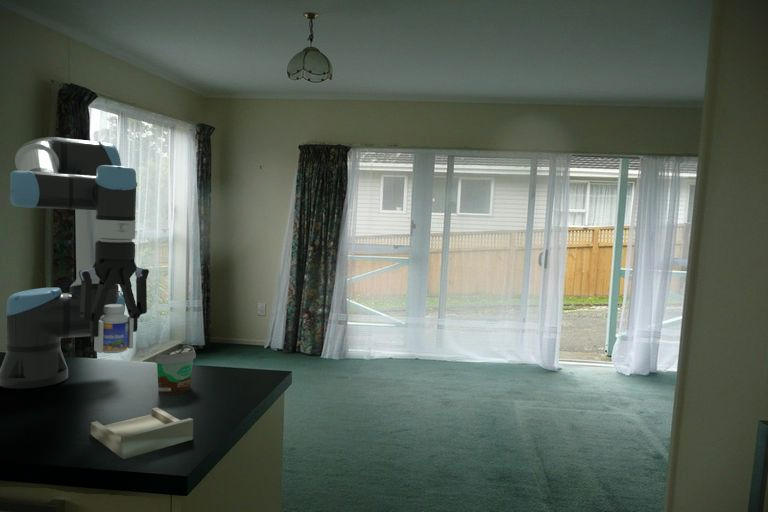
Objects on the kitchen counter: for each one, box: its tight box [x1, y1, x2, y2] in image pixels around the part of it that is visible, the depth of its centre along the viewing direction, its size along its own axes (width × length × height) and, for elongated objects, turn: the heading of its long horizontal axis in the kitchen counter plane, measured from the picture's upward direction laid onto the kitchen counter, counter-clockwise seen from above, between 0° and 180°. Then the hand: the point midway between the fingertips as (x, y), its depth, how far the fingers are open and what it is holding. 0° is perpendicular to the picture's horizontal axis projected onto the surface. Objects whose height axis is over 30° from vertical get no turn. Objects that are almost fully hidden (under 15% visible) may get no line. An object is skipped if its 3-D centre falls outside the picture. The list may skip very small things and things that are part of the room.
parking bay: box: [90, 407, 194, 460], centre depth 108 cm, size 15×13×4 cm
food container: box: [155, 344, 197, 395], centre depth 137 cm, size 12×6×10 cm, turn 168°
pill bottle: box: [100, 304, 128, 354], centre depth 116 cm, size 5×5×10 cm
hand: (113, 349), depth 116 cm, fingers closed on pill bottle, 5 cm apart
